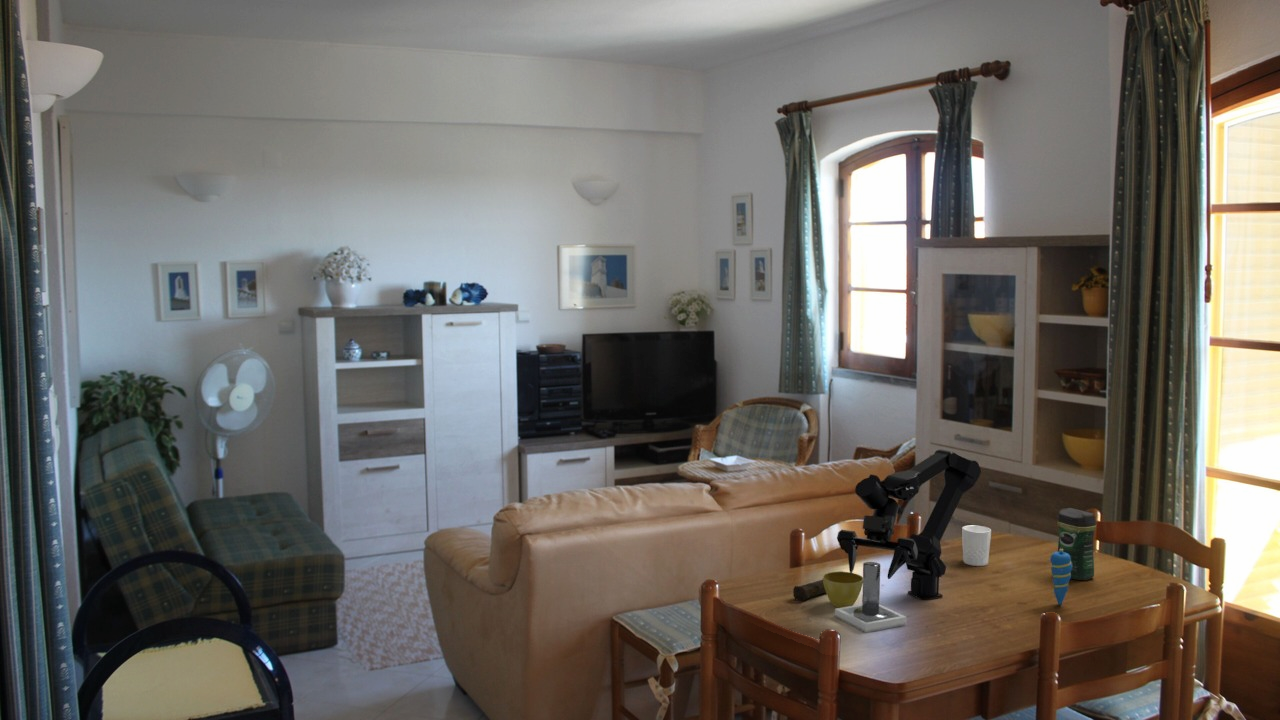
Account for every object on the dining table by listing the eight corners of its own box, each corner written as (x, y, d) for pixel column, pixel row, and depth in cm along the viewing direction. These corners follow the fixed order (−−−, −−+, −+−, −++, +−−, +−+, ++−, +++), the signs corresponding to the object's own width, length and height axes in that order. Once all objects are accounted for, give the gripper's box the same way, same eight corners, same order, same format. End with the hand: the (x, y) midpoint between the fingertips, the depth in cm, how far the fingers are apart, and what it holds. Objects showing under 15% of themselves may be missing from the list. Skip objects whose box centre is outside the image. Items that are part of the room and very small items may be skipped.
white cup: (959, 558, 302) (960, 524, 301) (987, 559, 301) (988, 525, 300) (963, 566, 294) (964, 531, 293) (992, 567, 293) (993, 532, 292)
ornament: (1060, 609, 258) (1063, 550, 256) (1043, 603, 262) (1046, 545, 261) (1074, 606, 260) (1077, 548, 259) (1058, 600, 265) (1060, 543, 263)
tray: (874, 609, 257) (874, 602, 257) (906, 625, 246) (906, 617, 246) (834, 616, 252) (834, 608, 252) (865, 632, 241) (865, 624, 241)
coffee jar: (1099, 578, 283) (1102, 512, 281) (1079, 582, 279) (1082, 515, 278) (1069, 569, 292) (1072, 504, 290) (1050, 573, 288) (1052, 507, 286)
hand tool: (803, 603, 262) (804, 585, 262) (792, 599, 265) (792, 581, 265) (853, 589, 274) (854, 572, 273) (842, 585, 277) (842, 569, 276)
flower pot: (819, 598, 266) (819, 570, 265) (858, 598, 266) (859, 571, 265) (825, 611, 256) (825, 583, 255) (866, 611, 256) (866, 583, 255)
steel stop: (873, 611, 254) (874, 557, 253) (894, 621, 247) (895, 566, 246) (846, 616, 251) (848, 561, 250) (867, 626, 244) (868, 570, 242)
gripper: (840, 497, 254) (824, 552, 246) (916, 506, 245) (902, 563, 237) (849, 521, 262) (834, 575, 253) (923, 531, 253) (910, 587, 244)
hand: (869, 575), depth 247 cm, fingers open, 9 cm apart
